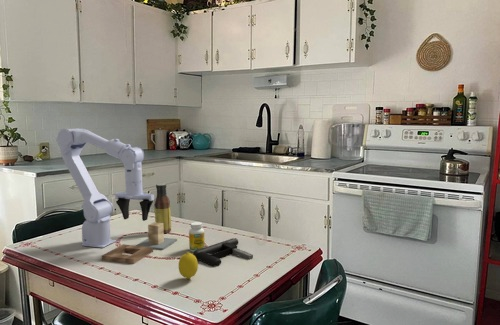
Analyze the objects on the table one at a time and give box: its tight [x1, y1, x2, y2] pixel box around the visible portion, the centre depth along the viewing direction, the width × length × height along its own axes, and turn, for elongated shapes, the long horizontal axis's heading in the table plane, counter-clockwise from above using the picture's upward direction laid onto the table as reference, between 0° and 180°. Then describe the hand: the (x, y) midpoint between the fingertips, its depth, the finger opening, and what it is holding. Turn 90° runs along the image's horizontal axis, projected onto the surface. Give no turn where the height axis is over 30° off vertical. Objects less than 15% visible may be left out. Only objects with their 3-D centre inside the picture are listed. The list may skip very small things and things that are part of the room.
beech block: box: [147, 221, 165, 245], centre depth 147 cm, size 4×4×7 cm
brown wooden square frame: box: [101, 244, 154, 265], centre depth 135 cm, size 12×12×2 cm
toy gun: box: [192, 237, 254, 267], centre depth 135 cm, size 3×20×16 cm
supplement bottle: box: [188, 221, 206, 253], centre depth 140 cm, size 5×5×10 cm
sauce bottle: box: [154, 182, 172, 234], centre depth 161 cm, size 7×6×20 cm
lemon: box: [178, 252, 199, 280], centre depth 115 cm, size 6×6×8 cm
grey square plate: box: [135, 237, 178, 251], centre depth 147 cm, size 11×11×1 cm
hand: (135, 219), depth 142 cm, fingers open, 7 cm apart
